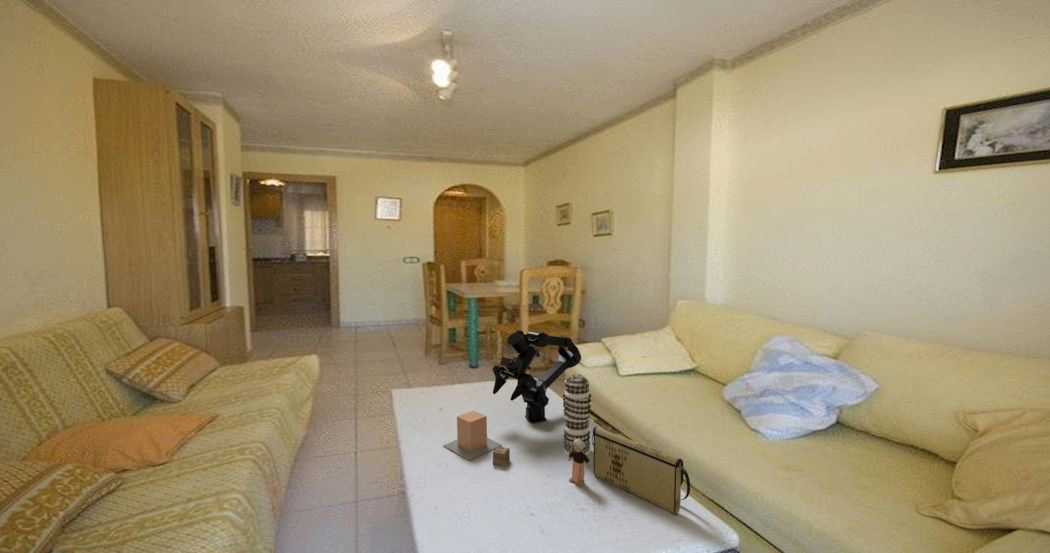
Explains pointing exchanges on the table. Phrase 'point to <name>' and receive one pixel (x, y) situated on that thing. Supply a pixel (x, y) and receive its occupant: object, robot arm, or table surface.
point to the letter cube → (501, 456)
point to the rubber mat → (474, 454)
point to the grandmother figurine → (578, 462)
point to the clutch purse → (639, 469)
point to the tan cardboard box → (472, 430)
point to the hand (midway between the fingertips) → (502, 396)
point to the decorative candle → (576, 412)
